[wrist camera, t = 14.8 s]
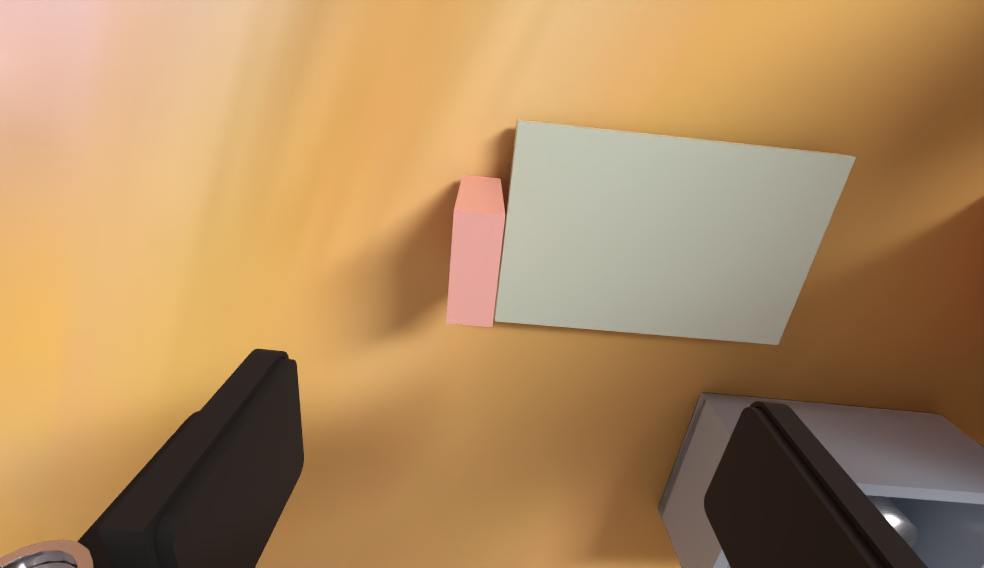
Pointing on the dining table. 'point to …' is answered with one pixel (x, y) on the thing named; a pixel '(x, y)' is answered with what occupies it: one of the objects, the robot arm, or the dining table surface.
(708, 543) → the tub
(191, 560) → the robot arm
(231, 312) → the dining table surface
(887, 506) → the grey metal part
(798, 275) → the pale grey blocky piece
